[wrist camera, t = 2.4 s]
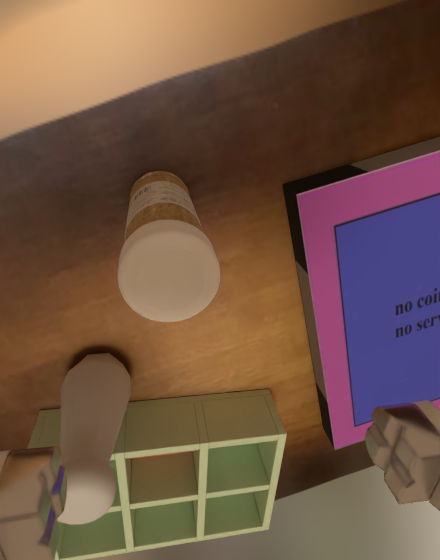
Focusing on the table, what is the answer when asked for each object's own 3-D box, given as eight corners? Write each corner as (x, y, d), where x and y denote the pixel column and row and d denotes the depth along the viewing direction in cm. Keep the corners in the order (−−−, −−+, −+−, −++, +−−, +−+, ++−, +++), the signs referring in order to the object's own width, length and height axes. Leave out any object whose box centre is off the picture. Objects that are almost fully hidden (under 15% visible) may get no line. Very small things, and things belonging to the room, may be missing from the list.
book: (334, 450, 41) (296, 194, 26) (323, 428, 44) (282, 184, 29) (509, 391, 42) (567, 110, 27) (487, 373, 44) (530, 108, 30)
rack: (63, 507, 42) (52, 565, 37) (39, 410, 35) (21, 465, 30) (255, 481, 46) (268, 529, 41) (268, 388, 39) (287, 433, 34)
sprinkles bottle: (153, 238, 29) (157, 342, 17) (116, 190, 27) (93, 271, 15) (201, 207, 29) (240, 292, 17) (168, 155, 26) (186, 212, 15)
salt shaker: (80, 399, 35) (49, 548, 24) (56, 354, 32) (8, 498, 21) (140, 383, 36) (137, 522, 24) (121, 337, 33) (109, 470, 21)
